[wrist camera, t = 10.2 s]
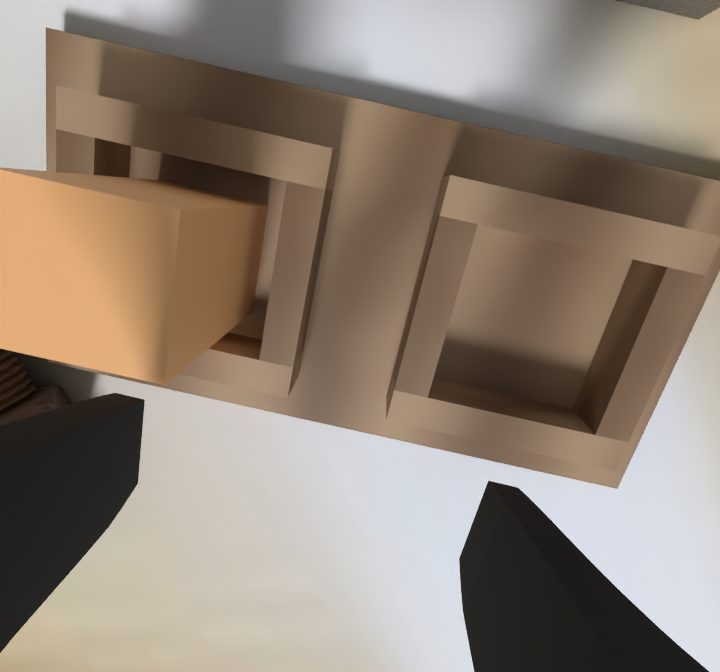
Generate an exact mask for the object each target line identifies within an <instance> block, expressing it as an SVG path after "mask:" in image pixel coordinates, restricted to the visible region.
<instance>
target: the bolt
mask: <svg viewBox="0 0 720 672" xmlns="http://www.w3.org/2000/svg"><path fill="white" fill-rule="evenodd" d="M12 352H13V351H9V350H5V349H0V426H1V425H4V424H8V423H11V422H14V421H18V420H21V419H24V418H28V417H31V416H34V415H38V414H41V413H44V412H48V411H51V410H54V409H58V408H61V407H64V406H68V405H71V402H70V401H69V399H68V397H67V396H66V394H65V392H64V391H63V389H62V388H60V387H57V386H53V385H48V386H44V387H40V388H37V389H35V387H36V385H32V384H29V383H30V381H31V378H27V377H24V376H25V375H26V373H27V371H23V370H20V369H21V367H22V366H23V365H22V364H21V363H15V362H16V360H17V359H18V356H10V355H11V354H12Z"/></svg>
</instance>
